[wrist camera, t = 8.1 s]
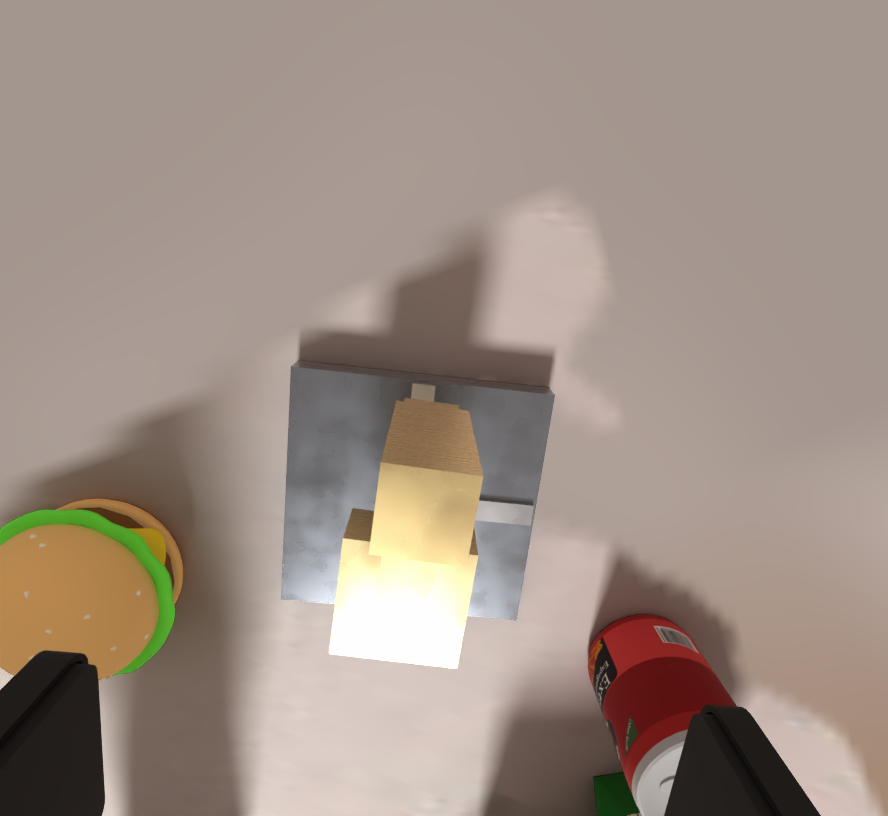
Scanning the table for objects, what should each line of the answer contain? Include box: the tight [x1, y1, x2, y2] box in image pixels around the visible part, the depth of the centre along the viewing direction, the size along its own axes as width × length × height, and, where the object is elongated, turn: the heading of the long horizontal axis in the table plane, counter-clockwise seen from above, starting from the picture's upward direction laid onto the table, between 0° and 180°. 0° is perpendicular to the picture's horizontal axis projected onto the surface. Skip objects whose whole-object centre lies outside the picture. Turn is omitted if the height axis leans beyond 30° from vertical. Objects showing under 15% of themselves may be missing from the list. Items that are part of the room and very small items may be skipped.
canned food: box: [588, 615, 737, 816], centre depth 37 cm, size 8×8×11 cm
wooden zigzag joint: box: [329, 398, 483, 669], centre depth 23 cm, size 12×6×10 cm, turn 171°
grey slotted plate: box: [281, 360, 555, 620], centre depth 34 cm, size 16×16×9 cm
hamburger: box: [0, 499, 183, 680], centre depth 35 cm, size 12×12×9 cm
